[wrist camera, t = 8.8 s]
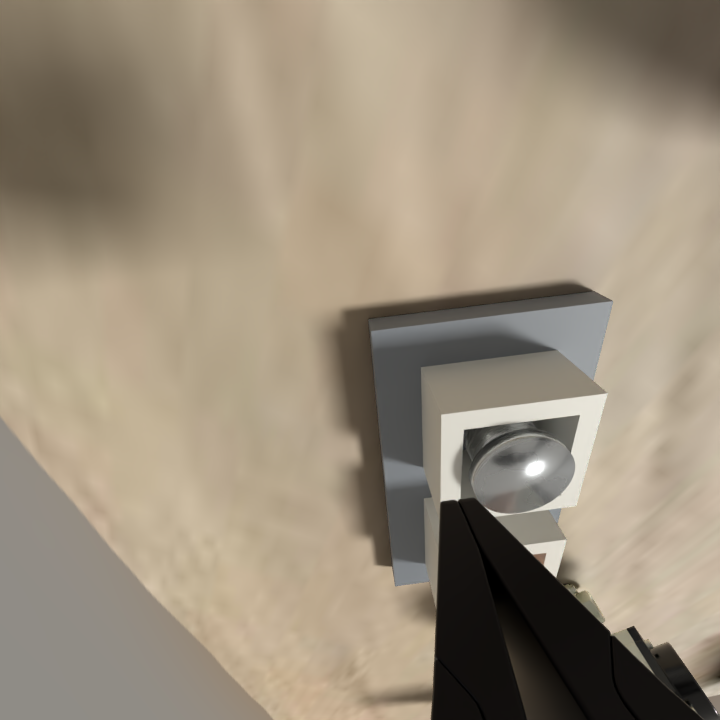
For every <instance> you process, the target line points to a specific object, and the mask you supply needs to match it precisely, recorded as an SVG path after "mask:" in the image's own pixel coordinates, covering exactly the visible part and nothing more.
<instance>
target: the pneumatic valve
mask: <svg viewBox="0 0 720 720" xmlns="http://www.w3.org/2000/svg"><path fill="white" fill-rule="evenodd" d="M564 586H565V587H566V588H567V589H568V590H569V591H570V592H571V593H572V594H573V595H574V596H575V597H576V598H577V599H578V600H579V601H580V602H581V603H582V604H583V605H584V606H585V607H586V608H587V609H588V610H589V611H590V612H591V613H592V614H593V615H594V616H595V617H596V618H597V619H598V620H599V621H600V622H601V623H603V622H605V618H604V616H603V614H602V613H601V611H600V609H599V608H598V606H597V604H596V603H595V601H594V600H593V598H592V597H591V595H590V594H589V592H587V591H583V592H580V593H578V594H576V593H577V590H576V588H575V587H574V585H569V584H566V585H564ZM611 635H614V636H615V637H616V638H617V639H618V640H619V641H620V642H621V643H622V644H623V645H624V646H625V647H626V648H627V649H628V650H629V651H630V652H631V653H632V654H633V655H634V656H636V657H637V658H638V659H639V660H640V661H641V662H642V663H643V664H644V665H645V666H646V667H647V668H648V669H649V670H650V671H651V672H652V673H653V674H654V675H655V676H656V677H657V678H659V679H660V680H661V681H662V682H663V683H664V684H665V685H666V686H667V687H668V688H669V689H670V690H672V691H673V692H674V693H675V694H676V695H677V696H678V697H679V698H681V699H682V700H683V701H684V702H685V703H686V704H687V705H688V706H690V707H691V708H692V709H693V710H694V711H695V712H696V713H697V714H699V715H700V716H701V717H702V718H703V719H704V720H720V715H719V714H718V712H717V711H716V709H715V708H714V706H713V705H712V703H711V702H710V701H709V699H708V698H707V696H706V695H705V693H704V692H703V690H702V689H701V687H700V686H699V684H698V683H697V682H696V680H695V679H694V677H693V676H692V674H691V673H690V672H689V670H688V669H687V667H686V666H685V664H684V663H683V662H682V660H681V659H680V657H679V656H678V654H677V653H676V652H675V650H674V649H673V647H672V646H671V645H670V643H668V642H666V643H664V644H661V645H658V646H655V647H653V646H652V644H651V642H650V641H649V640H648V639H647V640H644V639H643V638H642V636H641V635H640V634H639V632H638V631H637V630H636V628H635V627H634V626H632V627H630V628H627V629H624V630H622V631H619V632H617V633H614V634H611Z"/></svg>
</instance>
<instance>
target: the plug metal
mask: <svg viewBox="0 0 720 720" xmlns="http://www.w3.org/2000/svg"><path fill="white" fill-rule="evenodd" d="M463 444H464V446H465V448H466V450H467V452H468V454H469V457H470V459H471V461H472V462H471V465H470V468H469V481H470V483H471V486H472V488H473V490H474V493H475V495H476V497H477V499H478V501H479V502H480V503H481V504H482V505H483V506H484V507H486V508H487V509H489V510H491V511H494V512H498V513H505V514H515V513H523V512H527V511H531V510H534V509H537V508H539V507H542V506H544V505H546V504H547V503H549V502H551V501H552V500H554V499H555V498H557V497H558V496H559V495H560V494H561V493H562V492H563V491H564V490H565V489H566V488H567V487H568V485H569V484H570V482H571V480H572V478H573V476H574V473H575V461H574V458H573V456H572V454H571V453H570V451H569V450H568V449H567V448H566V446H565V445H564V444H563V443H562V441H561V440H560V439H559V438H558V437H557V436H556V435H554V434H552V433H550V432H548V431H545V430H541V429H537V428H536V426H535V425H534V424H533V422H532V421H528V422H520V423H513V424H505V425H497V426H489V427H482V428H474V429H466V430H464V435H463Z"/></svg>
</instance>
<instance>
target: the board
mask: <svg viewBox="0 0 720 720" xmlns="http://www.w3.org/2000/svg"><path fill="white" fill-rule="evenodd" d="M612 304H613V301H612V300H610V299H608V298H606V297H604V296H603V295H601V294H599V293H597V292H595V291H591V292H583V293H575V294H567V295H559V296H551V297H543V298H535V299H527V300H519V301H511V302H502V303H494V304H486V305H478V306H470V307H462V308H454V309H446V310H438V311H430V312H421V313H413V314H405V315H397V316H389V317H381V318H373V319H368V323H369V333H370V343H371V354H372V364H373V374H374V385H375V395H376V405H377V415H378V426H379V436H380V446H381V456H382V467H383V477H384V487H385V497H386V508H387V518H388V528H389V539H390V549H391V559H392V569H393V575H394V582H395V586H401V585H408V584H415V583H423V582H430V586H431V590H432V594H433V598H434V603H435V607H436V601H437V573H438V546H439V519H440V503H441V502H442V501H447V500H457V501H458V500H459V499H462V498H470V497H474V498H476V499H477V497H476V495H475V493H474V490H473V488H472V486H471V483H470V481H469V468H470V465H471V462H472V461H471V459H470V457H469V454H468V452H467V450H466V448H465V446H464V444H463V435H464V430H466V429H474V428H482V427H489V426H497V425H505V424H513V423H520V422H528V421H532V422H533V424H534V425H535V426H536V428H537V429H541V430H545V431H548V432H550V433H552V434H554V435H556V436H557V437H558V438H559V439H560V440H561V441H562V443H563V444H564V445H565V446H566V448H567V449H568V450H569V451H570V453H571V454H572V456H573V458H574V461H575V473H574V476H573V478H572V480H571V482H570V484H569V485H568V487H567V488H566V489H565V490H564V491H563V492H562V493H561V494H560V495H559V496H558V497H557V498H555V499H554V500H552V501H551V502H549V503H547V504H546V505H544V506H542V507H539V508H537V509H534V510H531V511H527V512H523V513H515V514H505V513H498V512H494V511H491V510H489V509H487V508H486V507H485V508H486V509H487V510H488V511H489V512H490V513H491V514H492V515H493V516H494V517H495V518H496V519H497V520H498V521H499V522H500V523H501V524H502V525H503V526H504V527H505V528H506V529H507V530H508V531H509V532H510V533H511V534H512V535H513V536H514V537H515V538H516V539H517V540H518V541H519V542H520V543H522V544H523V545H524V546H525V547H526V548H527V549H528V550H529V551H530V552H531V553H532V554H533V555H534V556H535V557H536V558H537V559H538V560H539V561H540V562H541V563H542V564H543V565H544V566H545V567H546V568H547V569H548V570H549V571H550V572H551V573H552V574H553V575H554V576H555V577H556V576H557V573H558V569H559V566H560V562H561V559H562V555H563V551H564V548H565V544H566V541H567V539H566V537H565V536H564V534H563V533H562V531H561V529H560V528H559V526H558V524H557V523H558V519H559V515H560V511H561V508H566V507H573V506H576V505H577V501H578V498H579V494H580V491H581V487H582V484H583V480H584V476H585V473H586V469H587V466H588V462H589V458H590V455H591V451H592V448H593V444H594V441H595V437H596V433H597V430H598V426H599V423H600V419H601V416H602V412H603V408H604V405H605V401H606V398H607V394H608V393H607V392H606V391H604V390H603V389H602V388H601V387H600V386H599V385H597V384H596V383H595V382H594V381H593V380H594V376H595V372H596V368H597V364H598V360H599V356H600V352H601V348H602V344H603V340H604V336H605V332H606V328H607V324H608V320H609V316H610V312H611V308H612ZM477 500H478V499H477Z"/></svg>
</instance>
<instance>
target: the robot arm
mask: <svg viewBox="0 0 720 720" xmlns="http://www.w3.org/2000/svg"><path fill="white" fill-rule="evenodd" d="M431 720H704V719H703V718H702V717H701V716H700V715H699V714H697V713H696V712H695V711H694V710H693V709H692V708H691V707H690V706H688V705H687V704H686V703H685V702H684V701H683V700H682V699H681V698H679V697H678V696H677V695H676V694H675V693H674V692H673V691H672V690H670V689H669V688H668V687H667V686H666V685H665V684H664V683H663V682H662V681H661V680H660V679H659V678H657V677H656V676H655V675H654V674H653V673H652V672H651V671H650V670H649V669H648V668H647V667H646V666H645V665H644V664H643V663H642V662H641V661H640V660H639V659H638V658H637V657H636V656H634V655H633V654H632V653H631V652H630V651H629V650H628V649H627V648H626V647H625V646H624V645H623V644H622V643H621V642H620V641H619V640H618V639H617V638H616V637H615V636H614V635H611V633H610V631H609V630H608V629H607V628H606V627H605V626H604V625H603V624H602V623H601V622H600V621H599V620H598V619H597V618H596V617H595V616H594V615H593V614H592V613H591V612H590V611H589V610H588V609H587V608H586V607H585V606H584V605H583V604H582V603H581V602H580V601H579V600H578V599H577V598H576V597H575V596H574V595H573V594H572V593H571V592H570V591H569V590H568V589H567V588H566V587H565V586H564V585H563V584H562V583H561V582H560V581H559V580H558V579H557V578H556V577H555V576H554V575H553V574H552V573H551V572H550V571H549V570H548V569H547V568H546V567H545V566H544V565H543V564H542V563H541V562H540V561H539V560H538V559H537V558H536V557H535V556H534V555H533V554H532V553H531V552H530V551H529V550H528V549H527V548H526V547H525V546H524V545H523V544H522V543H520V542H519V541H518V540H517V539H516V538H515V537H514V536H513V535H512V534H511V533H510V532H509V531H508V530H507V529H506V528H505V527H504V526H503V525H502V524H501V523H500V522H499V521H498V520H497V519H496V518H495V517H494V516H493V515H492V514H491V513H490V512H489V511H488V510H487V509H486V508H485V507H484V506H483V505H482V504H481V503H480V502H479V501H478V500H477V499H476V498H474V497H470V498H462V499H459V500H458V501H457V500H447V501H442V502H441V503H440V519H439V546H438V573H437V601H436V628H435V655H434V677H433V695H432V710H431Z"/></svg>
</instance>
